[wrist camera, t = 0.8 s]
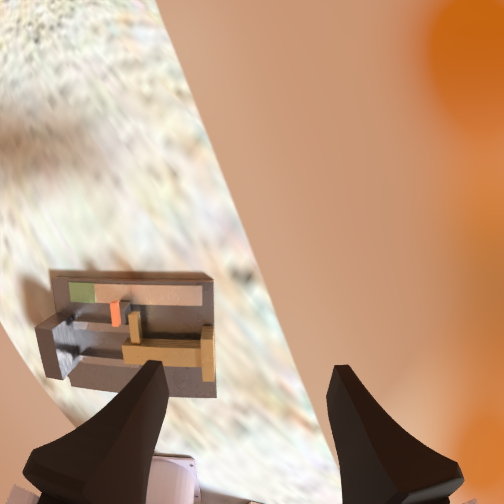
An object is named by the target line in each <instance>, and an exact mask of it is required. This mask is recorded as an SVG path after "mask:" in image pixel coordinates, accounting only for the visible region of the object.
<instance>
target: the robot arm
mask: <svg viewBox="0 0 504 504" xmlns="http://www.w3.org/2000/svg"><path fill="white" fill-rule="evenodd" d="M168 397H169V389H168V385H167V380H166V376H165V372H164V367H163V363H162V361H158V360H147V361H146V363H145V364H144V365H143V366H142V367H141V369H140V370H139V371H138V372H137V373H136V374H135V376H134V377H133V378H132V379H131V380H130V381H129V382H128V383H127V385H126V386H125V387H124V388H123V389H122V390H121V391H120V392H119V393H118V394H117V395H116V396H115V397H114V398H113V399H112V400H111V401H110V402H109V403H108V404H107V405H106V406H105V407H104V408H103V409H101V410H100V411H99V412H98V413H97V414H95V415H94V416H93V417H92V418H90V419H89V420H88V421H86V422H85V423H84V424H82V425H81V426H79V427H78V428H76V429H75V430H73V431H72V432H70V433H68V434H66V435H64V436H63V437H61V438H59V439H57V440H55V441H53V442H51V443H48V444H46V445H43V446H41V447H39V448H36V449H33V451H32V452H31V454H30V456H29V458H28V460H27V463H26V465H25V467H24V469H23V475H24V476H25V478H26V479H27V480H28V481H29V482H31V483H32V484H33V485H34V486H35V487H36V488H37V489H38V490H40V491H41V492H42V493H41V496H40V497H39V496H37V495H35V494H34V493H32V492H30V491H28V490H26V489H24V488H22V487H20V486H18V485H16V484H14V485H13V488H12V490H11V492H10V495H9V497H8V499H7V502H6V504H194V502H201V494H200V488H199V482H198V476H197V469H196V462H195V460H194V459H192V458H175V457H161V456H153V453H154V449H155V446H156V443H157V440H158V436H159V433H160V430H161V427H162V424H163V420H164V417H165V414H166V409H167V403H168ZM326 399H327V407H328V417H329V421H330V425H331V430H332V434H333V438H334V442H335V447H336V451H337V455H338V459H339V465H340V475H341V486H342V501H343V504H450V500H449V496H450V495H451V494H452V493H453V492H455V491H456V490H457V489H458V488H459V487H460V486H461V485H462V484H463V482H464V477H463V474H462V472H461V469H460V467H459V465H458V463H457V462H455V461H453V460H451V459H449V458H447V457H445V456H443V455H441V454H439V453H437V452H435V451H434V450H432V449H430V448H429V447H427V446H426V445H424V444H423V443H421V442H420V441H419V440H417V439H416V438H414V437H413V436H412V435H410V434H409V433H408V432H406V431H405V430H404V429H403V428H402V427H401V426H400V425H399V424H398V423H396V422H395V421H394V420H393V419H392V418H391V417H390V416H389V415H388V414H387V413H386V412H385V410H384V409H383V408H382V407H381V406H380V405H379V404H378V403H377V401H376V400H375V399H374V398H373V397H372V395H371V394H370V393H369V392H368V390H367V389H366V388H365V386H364V385H363V384H362V382H361V381H360V380H359V378H358V377H357V376H356V374H355V373H354V371H353V370H352V369H351V367H350V366H349V365H335V366H334V369H333V373H332V377H331V380H330V384H329V388H328V392H327V395H326ZM191 464H193V465H191ZM463 504H478V502H477V500H476V499H472V500H470V501H468V502H466V503H463Z"/></svg>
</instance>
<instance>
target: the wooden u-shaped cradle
mask: <svg viewBox="0 0 504 504" xmlns="http://www.w3.org/2000/svg"><path fill="white" fill-rule="evenodd" d="M128 319H129V328H130V337H131V338H126V340H125V341H124V343H123V344H122V352H123V358H124V364H136V365H144V364H145V363H146V361H147V360H158V361H162V363H163V366H172V367H202V378H203V382H214V381H215V349H214V326H203V327H202V333H201V339H200V340H171V339H146V338H142V329H141V319H140V312H137V311H131V312H130V313H129V314H128Z"/></svg>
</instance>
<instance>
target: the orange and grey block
mask: <svg viewBox="0 0 504 504" xmlns="http://www.w3.org/2000/svg"><path fill="white" fill-rule="evenodd" d="M110 309H111V318H112V327H118V326H119V325H120V324H126V323H127V321H128V320H129V319H128V314H129V313H130V312H131V308H130V302H119V300H113V301H112V302H111V303H110Z"/></svg>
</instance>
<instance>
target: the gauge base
mask: <svg viewBox="0 0 504 504" xmlns="http://www.w3.org/2000/svg"><path fill="white" fill-rule="evenodd" d="M52 282H53V291H54V299H55V307H56V314H54V315H53V316H51V317H50V318H48V319H47V320H45V321H44V322H42V323H41V324H40V325H38V326H37V327H35V332H36V337H37V342H38V346H39V351H40V355H41V359H42V363H43V367H44V371H45V375H46V377H48V378H53V379H58V380H64V379H65V378H66V376H67V375H68V374H69V378H70V382H71V386H74V387H80V388H86V389H93V390H101V391H109V392H117V393H119V392H120V391H121V390H122V389H123V388H124V387H125V386H126V385H127V383H128V382H129V381H130V380H131V379H132V378H133V377H134V376H135V374H136V373H137V372H138V371H139V370H140V369H141V367H142V366H143V365H136V364H124V358H123V352H122V344H123V343H124V341H125V340H126V338H131V337H130V328H129V320H128V321H127V323H126V324H120V325H119V326H118V327H112V318H111V309H110V303H111V302H112V301H113V300H119V302H130V308H131V311H137V312H140V319H141V329H142V338H146V339H171V340H200V339H201V333H202V327H203V326H214V279H128V278H88V277H58V276H57V277H54V278H52ZM214 349H215V332H214ZM163 367H164V372H165V376H166V380H167V385H168V389H169V397H188V398H217V389H216V364H215V381H214V382H203V378H202V367H172V366H163Z"/></svg>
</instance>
